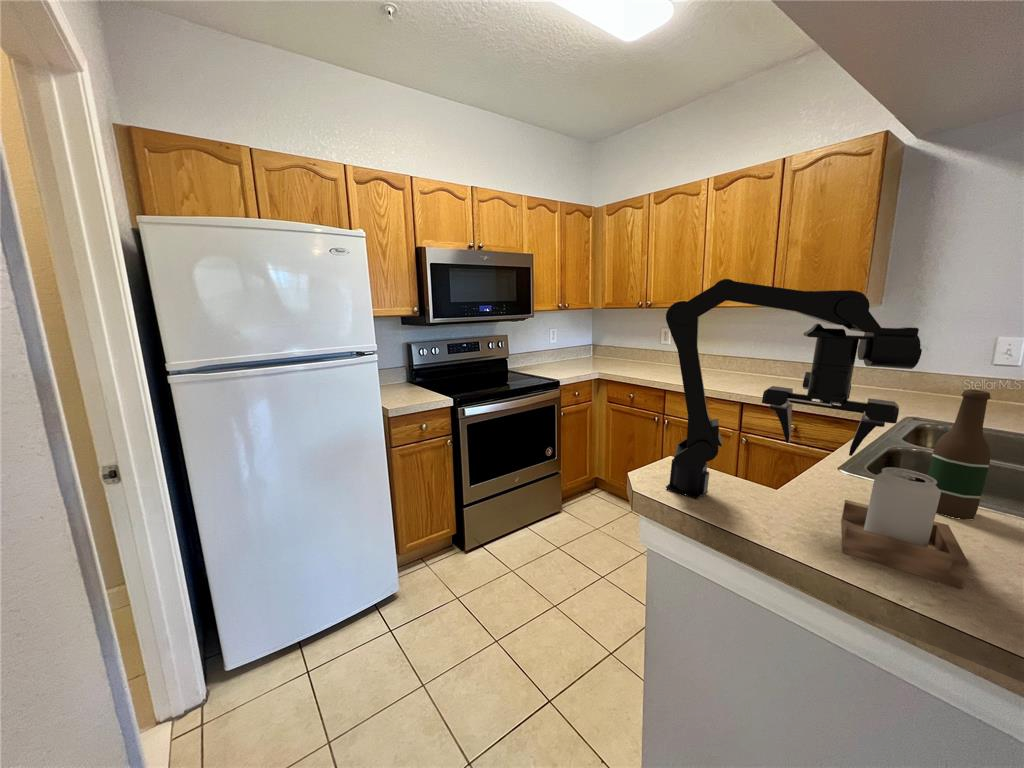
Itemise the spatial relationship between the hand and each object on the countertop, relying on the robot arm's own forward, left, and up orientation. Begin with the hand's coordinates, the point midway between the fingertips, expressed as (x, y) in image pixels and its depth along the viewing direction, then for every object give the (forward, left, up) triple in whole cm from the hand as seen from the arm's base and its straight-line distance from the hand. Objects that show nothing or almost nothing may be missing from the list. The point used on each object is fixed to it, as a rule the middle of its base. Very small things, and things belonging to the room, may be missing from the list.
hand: (817, 448), depth 73 cm
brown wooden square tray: (+12, -4, -13) cm, 18 cm away
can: (+12, -4, -12) cm, 17 cm away
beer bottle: (+20, +22, -13) cm, 33 cm away
